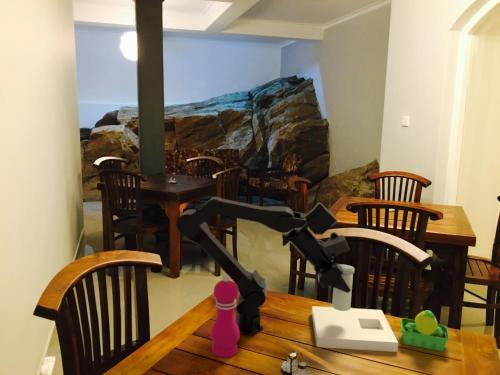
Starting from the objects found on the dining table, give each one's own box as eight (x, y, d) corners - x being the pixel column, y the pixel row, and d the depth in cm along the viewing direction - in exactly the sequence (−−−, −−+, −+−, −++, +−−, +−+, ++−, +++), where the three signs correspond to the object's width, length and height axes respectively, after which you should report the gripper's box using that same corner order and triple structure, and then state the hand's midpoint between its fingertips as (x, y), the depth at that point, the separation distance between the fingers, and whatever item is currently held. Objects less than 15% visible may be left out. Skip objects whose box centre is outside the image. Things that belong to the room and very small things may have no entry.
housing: (316, 350, 109) (317, 337, 108) (311, 317, 126) (312, 306, 126) (397, 355, 108) (398, 342, 107) (380, 321, 125) (381, 310, 125)
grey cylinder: (326, 306, 116) (329, 267, 114) (339, 300, 120) (341, 263, 118) (343, 313, 112) (346, 273, 110) (355, 307, 116) (358, 268, 114)
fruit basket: (444, 343, 114) (449, 303, 112) (447, 360, 106) (452, 318, 104) (399, 334, 118) (403, 296, 116) (399, 351, 110) (402, 309, 108)
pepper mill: (235, 361, 103) (237, 282, 100) (206, 356, 105) (207, 278, 101) (242, 345, 110) (244, 271, 107) (215, 341, 112) (216, 268, 108)
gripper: (336, 236, 103) (379, 282, 104) (327, 217, 121) (364, 257, 123) (301, 265, 105) (344, 310, 106) (298, 242, 123) (334, 281, 124)
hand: (347, 287), depth 115 cm, fingers closed on grey cylinder, 5 cm apart
